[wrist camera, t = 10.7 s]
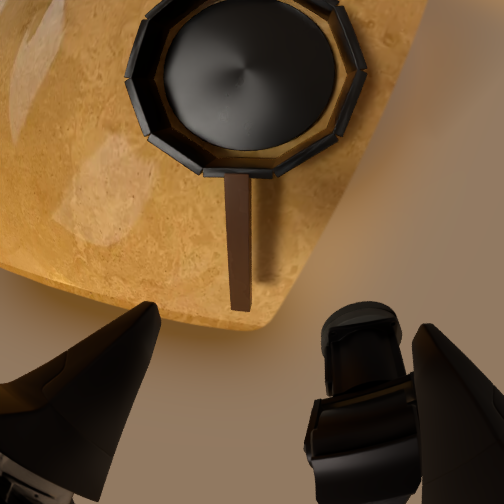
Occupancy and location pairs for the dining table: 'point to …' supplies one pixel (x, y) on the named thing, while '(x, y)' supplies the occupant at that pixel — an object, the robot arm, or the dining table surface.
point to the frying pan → (243, 96)
